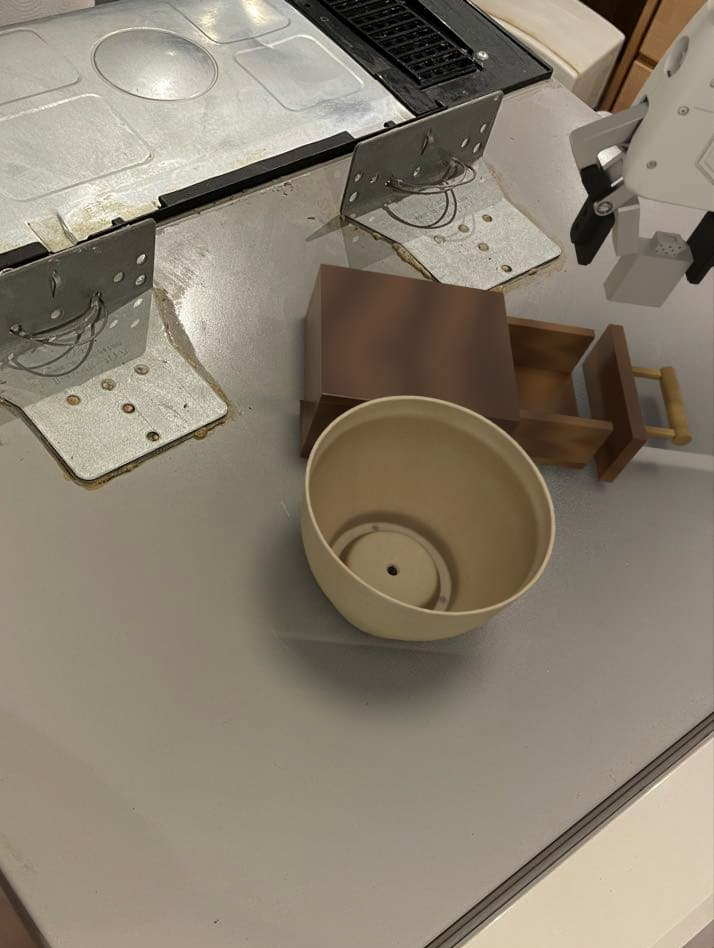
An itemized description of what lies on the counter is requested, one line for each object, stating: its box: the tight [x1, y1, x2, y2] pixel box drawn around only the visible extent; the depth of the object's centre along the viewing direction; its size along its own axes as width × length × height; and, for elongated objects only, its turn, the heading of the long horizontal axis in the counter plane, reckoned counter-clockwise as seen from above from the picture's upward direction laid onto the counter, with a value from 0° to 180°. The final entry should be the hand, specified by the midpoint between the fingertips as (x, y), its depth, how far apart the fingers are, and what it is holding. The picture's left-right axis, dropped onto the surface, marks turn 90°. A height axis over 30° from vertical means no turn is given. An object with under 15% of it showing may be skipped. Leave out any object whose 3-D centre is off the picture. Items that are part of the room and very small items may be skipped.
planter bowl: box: [300, 396, 556, 642], centre depth 66 cm, size 16×16×11 cm
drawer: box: [507, 315, 693, 484], centre depth 78 cm, size 19×11×6 cm, turn 90°
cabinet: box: [299, 263, 521, 459], centre depth 76 cm, size 15×13×8 cm
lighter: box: [602, 196, 694, 309], centre depth 65 cm, size 7×2×8 cm, turn 92°
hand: (635, 258), depth 66 cm, fingers closed on lighter, 7 cm apart
